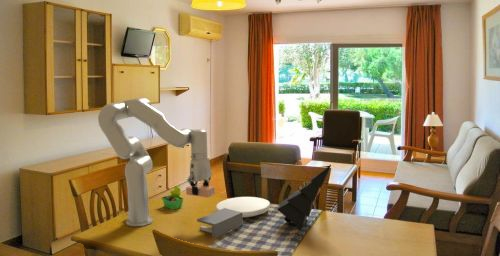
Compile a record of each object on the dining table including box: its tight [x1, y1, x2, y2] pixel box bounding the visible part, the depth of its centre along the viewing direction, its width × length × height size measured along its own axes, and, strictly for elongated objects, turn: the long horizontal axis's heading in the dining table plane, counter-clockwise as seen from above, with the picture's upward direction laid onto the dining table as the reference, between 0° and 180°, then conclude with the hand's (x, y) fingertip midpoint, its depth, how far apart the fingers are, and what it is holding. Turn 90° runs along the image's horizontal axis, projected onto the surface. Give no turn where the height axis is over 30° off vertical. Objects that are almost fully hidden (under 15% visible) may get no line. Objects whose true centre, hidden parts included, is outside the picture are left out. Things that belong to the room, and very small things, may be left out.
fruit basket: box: [161, 185, 184, 211], centre depth 230 cm, size 11×9×11 cm
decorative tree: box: [276, 164, 332, 229], centre depth 199 cm, size 15×15×35 cm
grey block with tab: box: [196, 208, 243, 240], centre depth 197 cm, size 13×19×6 cm
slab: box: [185, 184, 216, 198], centre depth 202 cm, size 12×6×4 cm, turn 65°
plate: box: [215, 196, 271, 218], centre depth 220 cm, size 28×6×27 cm
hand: (200, 192), depth 202 cm, fingers closed on slab, 6 cm apart
